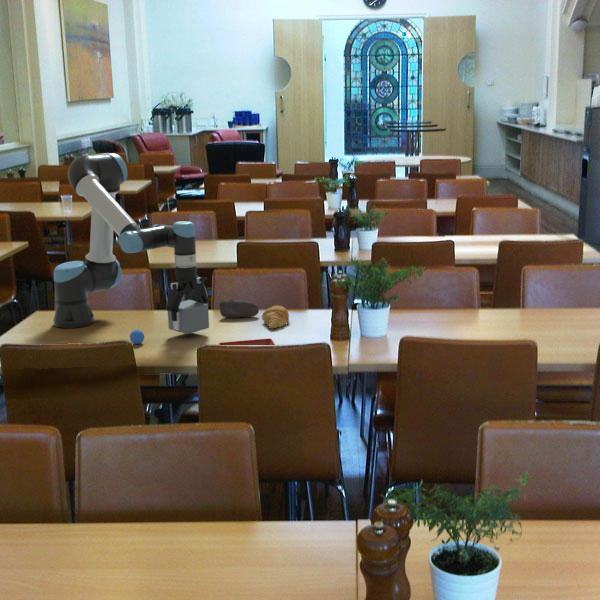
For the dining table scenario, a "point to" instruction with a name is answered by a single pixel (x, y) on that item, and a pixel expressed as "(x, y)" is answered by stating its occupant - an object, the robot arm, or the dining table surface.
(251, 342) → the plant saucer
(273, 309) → the croissant
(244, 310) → the perforated stone tool
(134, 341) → the ball
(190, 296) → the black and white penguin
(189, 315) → the matte grey cube
